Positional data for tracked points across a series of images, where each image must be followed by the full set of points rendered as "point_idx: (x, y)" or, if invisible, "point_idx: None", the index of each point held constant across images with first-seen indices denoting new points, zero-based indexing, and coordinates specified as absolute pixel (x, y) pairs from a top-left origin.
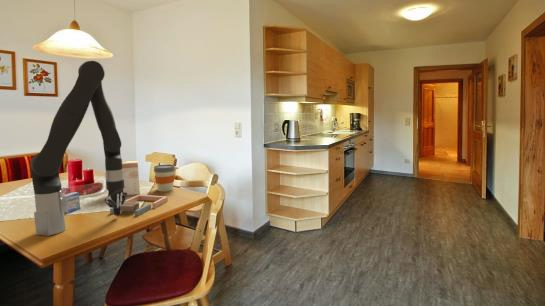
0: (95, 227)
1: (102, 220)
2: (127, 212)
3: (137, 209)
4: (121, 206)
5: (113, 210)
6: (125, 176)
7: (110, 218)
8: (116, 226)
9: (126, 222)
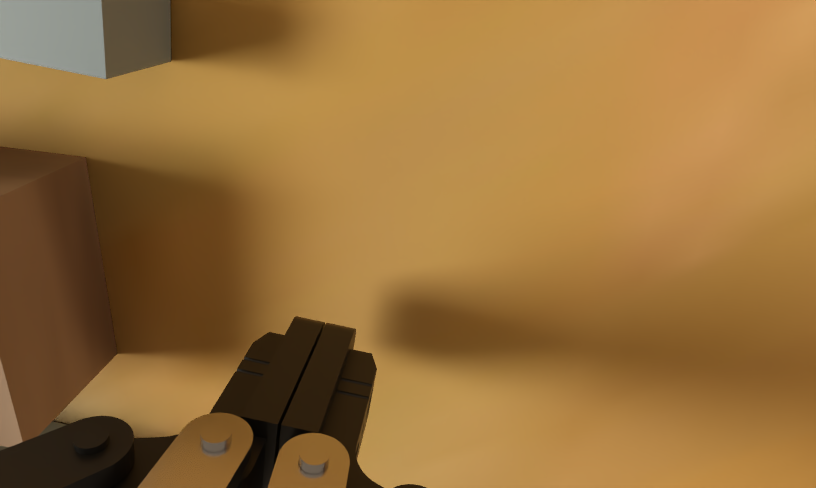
0: (753, 459)
1: (448, 477)
2: (89, 264)
3: (9, 49)
4: (31, 430)
5: None
6: None
7: None
8: (785, 161)
9: (568, 60)
